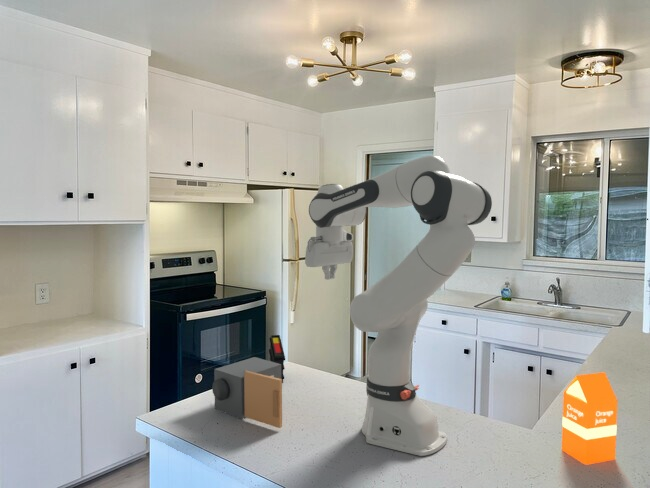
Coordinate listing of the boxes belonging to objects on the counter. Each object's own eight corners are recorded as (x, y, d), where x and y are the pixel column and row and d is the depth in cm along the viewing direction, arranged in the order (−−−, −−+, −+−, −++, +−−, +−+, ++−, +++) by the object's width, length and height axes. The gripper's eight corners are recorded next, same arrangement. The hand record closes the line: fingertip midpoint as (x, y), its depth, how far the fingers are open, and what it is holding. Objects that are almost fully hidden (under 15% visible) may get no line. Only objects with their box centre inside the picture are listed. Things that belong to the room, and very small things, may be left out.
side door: (277, 429, 132) (277, 381, 131) (240, 417, 139) (239, 371, 138) (283, 426, 133) (283, 378, 133) (245, 414, 141) (245, 369, 140)
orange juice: (615, 459, 118) (619, 377, 116) (585, 465, 115) (588, 380, 114) (589, 445, 125) (592, 367, 124) (560, 449, 123) (563, 370, 121)
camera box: (282, 402, 152) (282, 364, 151) (238, 421, 139) (237, 379, 138) (254, 393, 160) (254, 356, 159) (210, 410, 146) (209, 370, 146)
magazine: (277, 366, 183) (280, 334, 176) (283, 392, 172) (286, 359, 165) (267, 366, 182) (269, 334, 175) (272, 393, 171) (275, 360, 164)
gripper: (316, 237, 148) (316, 283, 149) (356, 235, 163) (356, 276, 164) (300, 236, 152) (300, 281, 153) (341, 234, 167) (341, 275, 168)
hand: (329, 279), depth 159 cm, fingers closed
